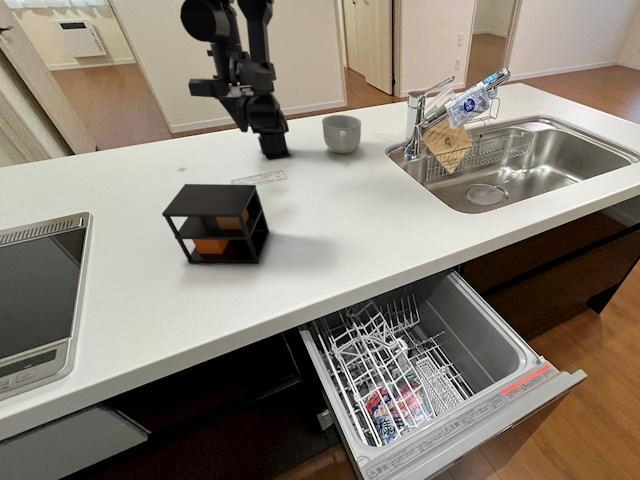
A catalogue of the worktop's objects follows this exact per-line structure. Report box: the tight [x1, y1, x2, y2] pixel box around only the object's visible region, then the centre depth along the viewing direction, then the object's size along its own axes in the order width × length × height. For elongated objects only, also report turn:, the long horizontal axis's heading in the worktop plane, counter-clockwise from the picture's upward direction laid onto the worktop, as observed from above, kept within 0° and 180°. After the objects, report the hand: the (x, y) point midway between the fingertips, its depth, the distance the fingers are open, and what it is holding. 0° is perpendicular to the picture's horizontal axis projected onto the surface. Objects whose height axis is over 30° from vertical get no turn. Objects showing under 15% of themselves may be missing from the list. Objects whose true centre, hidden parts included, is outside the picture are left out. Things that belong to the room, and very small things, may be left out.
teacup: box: [321, 114, 362, 154], centre depth 98 cm, size 14×11×8 cm
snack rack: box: [161, 183, 271, 265], centre depth 65 cm, size 10×13×11 cm
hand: (244, 132), depth 76 cm, fingers closed
